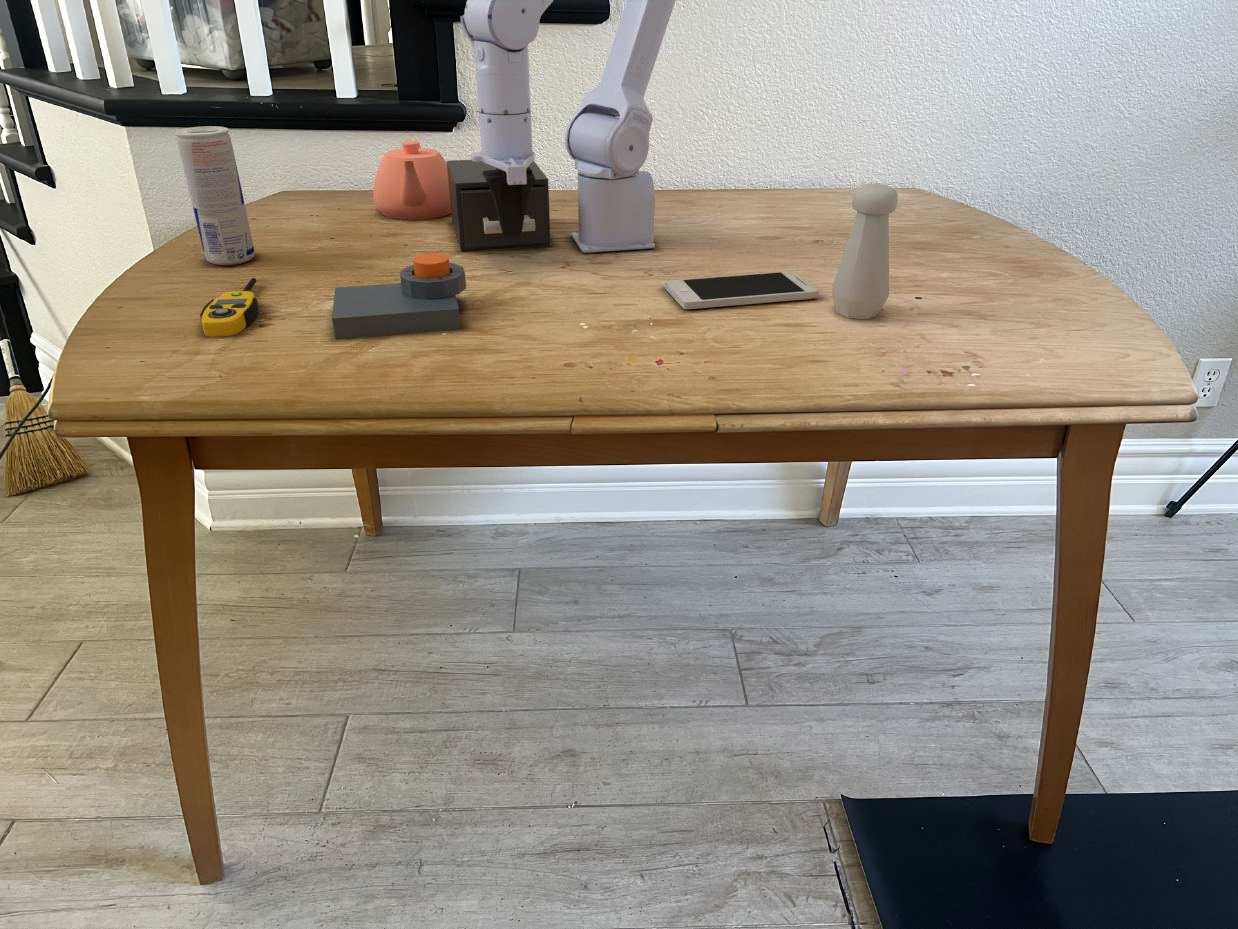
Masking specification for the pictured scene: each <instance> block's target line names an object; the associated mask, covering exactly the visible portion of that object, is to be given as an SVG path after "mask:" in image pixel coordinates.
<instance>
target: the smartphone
mask: <svg viewBox="0 0 1238 929" xmlns="http://www.w3.org/2000/svg"><path fill="white" fill-rule="evenodd" d="M664 289H665V290H666V291H667V292H668V293H669V295H670V296H671V297H673V299H674V300H675V301H676V302H677V303H678V304H679V306H681V308H682V309H683V310H694V309H696V310H697V309H706V308H707V309H708V308H719V307H729V306H730V307H731V306H744V305H753V304H754V305H755V304H765V303H776V302H789V301H800V300H801V301H802V300H813V299H818V295H819V290H818V289H817V288H816V287H814V286H813V285H811V284H810V283H809V282H808V281H806V280H805V279H804V278H802V277H801V276H800V275H798V274H797V273H796V272H794V271H790V270H787V271H774V272H773V271H772V272H762V273H749V274H748V273H747V274H735V275H723V276H710V277H698V278H696V277H695V278H685V279H673V280H671V279H670V280H665V284H664Z"/></svg>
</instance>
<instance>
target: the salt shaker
mask: <svg viewBox="0 0 1238 929" xmlns="http://www.w3.org/2000/svg"><path fill="white" fill-rule="evenodd" d="M898 197H899V196H898V192H897V190H896V189H895V188H894V187H892V186H890V185H886V184H882V183H865V184H861V185H859V186H857V187H856V188H855V189H854V191H853V195H852V200H851V206H852V209H853V210H854V211H856V215H855V218H854V220H853V224H852V226H851V230H850V234H849V236H848V240H847V243H846V246H845V247H844V251H843V254H842V257H841V259H840V263H839V265H838V268H837V271H836V274H835V277H834V280H833V283H832V286H831V296H832V300H833V304H834V307H835V310H836V313H837V314H839V315H841V316H843V317H845V318H847V319H855V320H869V319H871V318H874V317H877V316H878V314H879V313H880V311H881V310H882V309H883V307H884V305H885V304H886V302H887V301H888V299H889V296H890V214H891V213H893V212H895V211H896V209H897V205H898V202H899V201H898V200H899V199H898Z"/></svg>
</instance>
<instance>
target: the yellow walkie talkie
mask: <svg viewBox="0 0 1238 929" xmlns="http://www.w3.org/2000/svg"><path fill="white" fill-rule="evenodd" d="M256 283H257V279H256V277H251V278H250V279H249V281H248V283H247V284H246V285H245V287H244V288H243V290H238V291H237V290H236V291H235V290H234V291H227V292H224V293H222V294H221V295H219V296H217V297H216V298H215V299H214V298H212V299H211V300H210V301H208V302H207V303H206V305H205V306H203V308H202V310H201V312H200V315H199V316H200V322H201V327H202V331H203V333H204V335H205V336H206V337H211V338H217V337H218V338H219V337H221V338H222V337H223V338H224V337H232V336H235V335H237V334H239V333H241V332H242V331H244V329H245V328H246V329H247V328H249V327H251V325H252V324H254V322H255V321H256V320H257V317H258V315H259V306H258V305H259V302H258V299H257V298H256V297H255V293H254V292H253V291H251V290H252V289H253V287H254V286H255V284H256Z"/></svg>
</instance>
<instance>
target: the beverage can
mask: <svg viewBox="0 0 1238 929" xmlns="http://www.w3.org/2000/svg"><path fill="white" fill-rule="evenodd" d="M229 132H230V131H229V128H228V127H224V126H217V125H215V126H212V125H210V126H209V125H208V126H207V125H206V126H193V127H185V128H181V129H178V130H175V132H174V135H175V136H176V143H177V148H178V152H179V156H180V160H181V165H182V168H183V172H184V176H185V180H186V185H187V189H188V192H189V193H188V194H189V197H190V201H191V205H192V209H193V213H194V217H195V222H196V226H197V230H198V235H199V238H200V242H201V247H202V251H203V254H204V255H203V256H204V258H205V260H206V262H209V263H210V264H212V265H216V266H237V265H240V264H244V263H246V262H249V261H251V260H252V259H253V258H254V257H255V256H256V251H255V247H254V242H253V237H252V233H251V227H250V222H249V218H248V213H247V208H246V203H245V200H244V194H243V189H242V185H241V184H242V183H241V181H240V180H241V179H240V175H239V171H238V168H237V167H238V166H237V162H236V161H237V160H236V157H235V152H234V146H233V141H232V138H231V135H230V134H229Z"/></svg>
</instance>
